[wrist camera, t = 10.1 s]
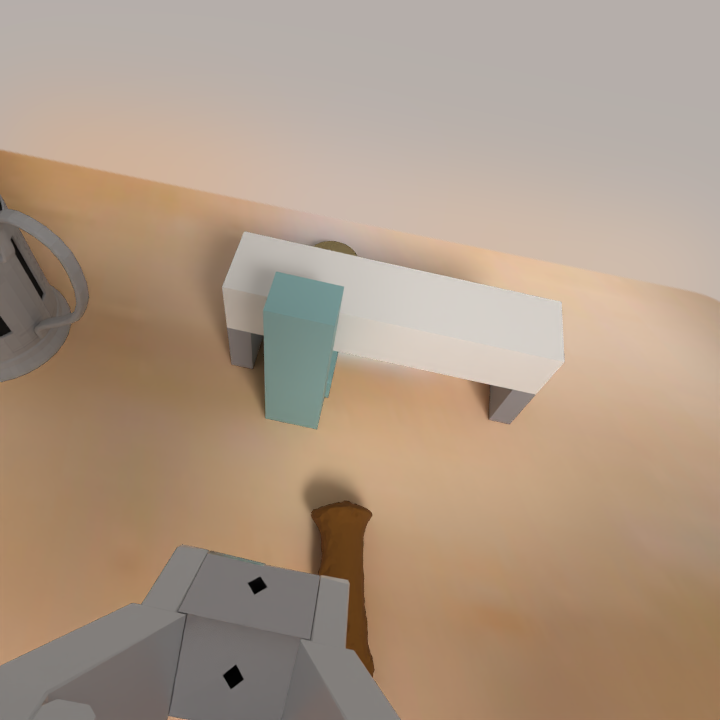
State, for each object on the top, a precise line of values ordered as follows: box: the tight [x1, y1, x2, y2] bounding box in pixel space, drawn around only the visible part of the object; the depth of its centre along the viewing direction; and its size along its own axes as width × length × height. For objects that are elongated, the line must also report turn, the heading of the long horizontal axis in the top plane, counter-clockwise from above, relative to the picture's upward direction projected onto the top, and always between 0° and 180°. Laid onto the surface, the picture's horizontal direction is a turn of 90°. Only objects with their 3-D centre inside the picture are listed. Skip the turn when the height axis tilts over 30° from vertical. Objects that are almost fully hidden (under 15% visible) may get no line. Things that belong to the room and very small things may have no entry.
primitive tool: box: [311, 501, 374, 678], centre depth 27 cm, size 19×6×4 cm, turn 4°
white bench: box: [222, 231, 564, 424], centre depth 35 cm, size 20×4×8 cm, turn 80°
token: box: [313, 241, 357, 256], centre depth 42 cm, size 4×4×2 cm
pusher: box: [263, 272, 344, 429], centre depth 34 cm, size 4×12×12 cm, turn 170°
